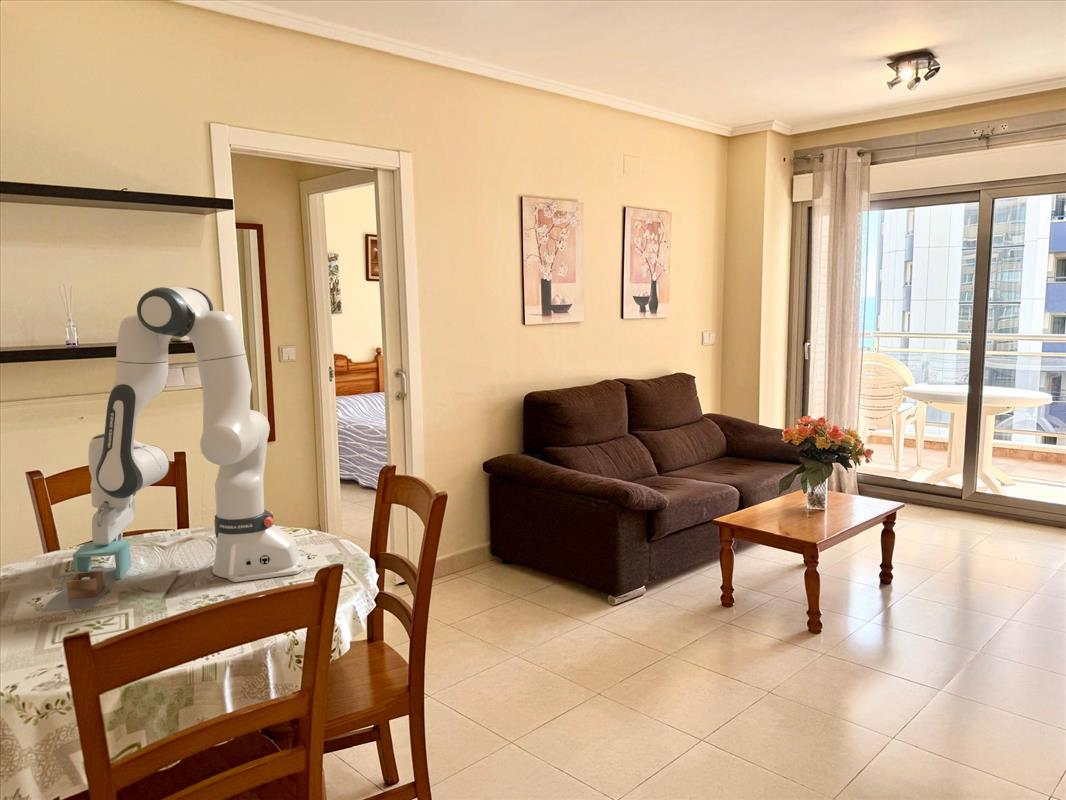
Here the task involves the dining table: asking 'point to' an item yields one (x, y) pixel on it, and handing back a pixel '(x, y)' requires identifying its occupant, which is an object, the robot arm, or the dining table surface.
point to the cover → (114, 548)
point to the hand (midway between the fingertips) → (116, 550)
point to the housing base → (81, 603)
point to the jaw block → (85, 584)
